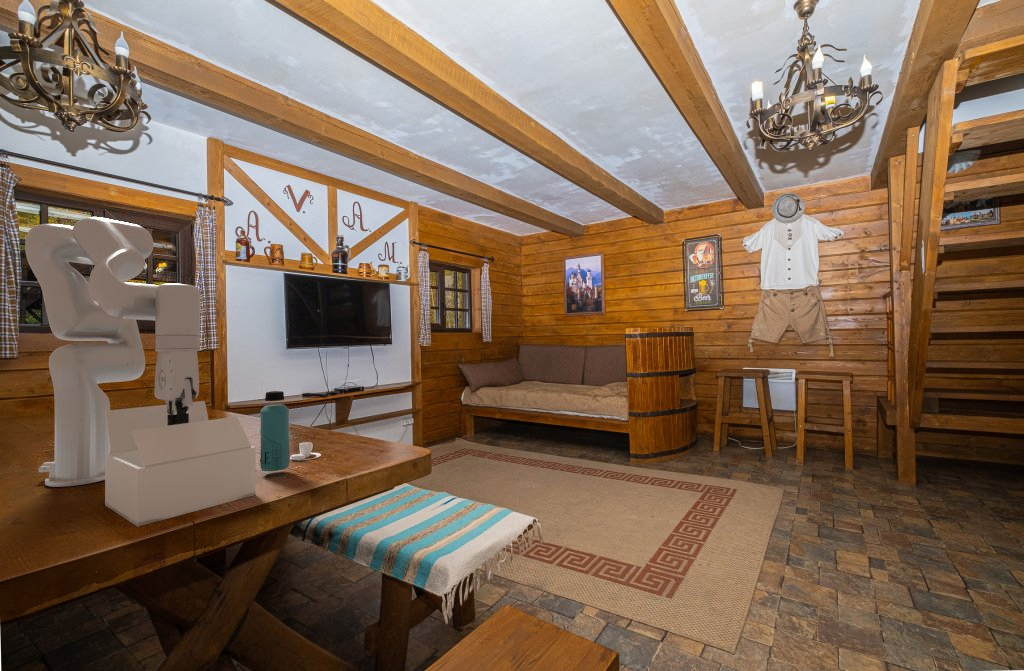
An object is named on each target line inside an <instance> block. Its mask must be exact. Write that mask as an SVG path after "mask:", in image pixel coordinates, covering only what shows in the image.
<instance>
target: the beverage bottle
mask: <svg viewBox="0 0 1024 671" xmlns="http://www.w3.org/2000/svg"><path fill="white" fill-rule="evenodd" d="M264 401H265V402H279V401H285V394H284V391H279V390H272V391H271V390H270V391H266V392H265V397H264ZM259 411H260V425H259V426H260V429H259V434H260V442H259V443H260V447H259V448H260V450H259V453H260V458H259V462H260V470H261V471H262V472H277V471H281V470H286V469H288V468H289V466H290V457H291V454H290V452H291V451H290V426H289V424H290V423H289V422H290V414H289V413H290V408H288V407H287V405H285V404H279V403H278V404H269V405H265V406H263V407H262V408H261V410H259Z"/></svg>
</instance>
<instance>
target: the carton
mask: <svg viewBox="0 0 1024 671" xmlns="http://www.w3.org/2000/svg"><path fill="white" fill-rule="evenodd" d="M256 451H257V449H256V446H254V445H251V448H248V449H242V450H237V451H232V452H226V453H221V454H216V455H211V456H205V457H200V458H195V459H189V460H184V461H179V462H173V463H168V464H163V465H157V466H152V467H147V468H145V467H144V464H143V461H142V459H141V456H140V453H139V450H138V449H137V450H131V451H124V452H118V453H112V454H111V453H110V454H105V480H104V484H105V485H104V486H105V487H104V488H105V489H104V492H105V494H104V497H105V498H104V504H105V507H106V508H108V509H110V510H111V511H113V512H115V513H116V514H117V515H119V516H120V517H122V518H124V519H125V520H127V521H129V522H130V523H131V524H133V525H134V526H135V527H137V528H138V527H141V526H146V525H149V524H152V523H157V522H160V521H164V520H169V519H172V518H174V517H179V516H182V515H186V514H190V513H193V512H197V511H201V510H205V509H209V508H212V507H215V506H220V505H223V504H227V503H231V502H234V501H237V500H242V499H246V498H248V497H249V498H250V497H252V496H256V494H257V491H256V490H257V488H256V487H257V486H256V484H257V482H256V480H257V479H256V471H257V469H256V468H257V466H256V465H257V463H256V462H257V460H256V459H257V455H256V453H257V452H256Z"/></svg>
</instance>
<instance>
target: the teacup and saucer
mask: <svg viewBox="0 0 1024 671" xmlns="http://www.w3.org/2000/svg"><path fill="white" fill-rule="evenodd" d="M298 445H299V447H298V448H299V453H297V454H290V456H289V457H290V458H289V460H292V461H307V460H308V461H309V460H313V459H317V458H320V457H321V456H322V454H321V453H319V452H312V451H313V447H314V445H313V443H312V442H311V441H305V442H304V441H303V442H300V443H299V444H298ZM311 455H315V456H314V457H310V456H311Z"/></svg>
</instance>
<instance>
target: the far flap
mask: <svg viewBox="0 0 1024 671" xmlns="http://www.w3.org/2000/svg"><path fill="white" fill-rule="evenodd" d="M105 415H106V422H107V429H108V437H109V444H110V454H112V453H118V452H124V451H131V450H137V449H138V448H137V445H136V442H135V439H134V437H133V434H132V431H133V430H138V429H146V428H154V427H161V426H168V415H169V414H168V413H167V404H160V405H151V406H141V407H139V406H138V407H130V408H120V409H110V410H108V411H105ZM207 420H209V415H208V411H207V404H206V400H200V401H192V406H190V409H189V423H192V422H199V421H207Z"/></svg>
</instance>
